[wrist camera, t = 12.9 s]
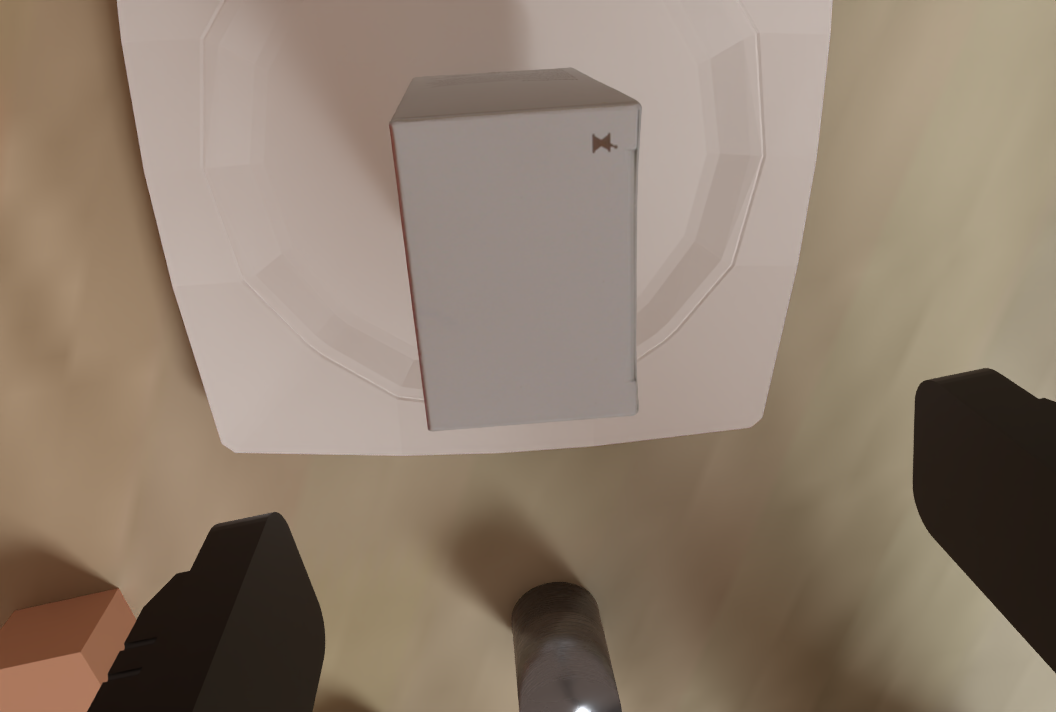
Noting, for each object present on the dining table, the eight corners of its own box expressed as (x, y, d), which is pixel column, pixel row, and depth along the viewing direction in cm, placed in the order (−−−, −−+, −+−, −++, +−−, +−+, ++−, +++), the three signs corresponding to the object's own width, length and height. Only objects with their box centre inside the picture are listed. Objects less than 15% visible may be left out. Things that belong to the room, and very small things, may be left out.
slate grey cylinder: (591, 574, 37) (614, 669, 32) (604, 640, 39) (627, 741, 34) (503, 592, 37) (511, 690, 32) (520, 657, 39) (530, 761, 34)
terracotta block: (119, 586, 36) (80, 652, 32) (153, 648, 37) (120, 717, 34) (15, 609, 36) (-35, 677, 32) (55, 670, 37) (10, 741, 34)
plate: (761, 418, 35) (783, 448, 33) (219, 444, 34) (200, 478, 31) (847, -229, 25) (888, -255, 23) (81, -240, 24) (38, -270, 21)
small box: (411, 74, 26) (382, 109, 16) (576, 65, 26) (645, 93, 16) (434, 299, 29) (423, 439, 19) (581, 288, 29) (641, 421, 20)
